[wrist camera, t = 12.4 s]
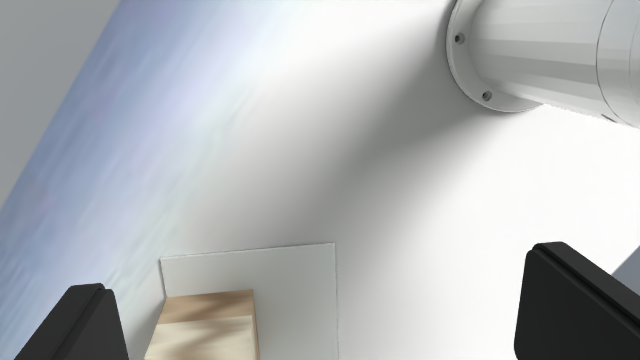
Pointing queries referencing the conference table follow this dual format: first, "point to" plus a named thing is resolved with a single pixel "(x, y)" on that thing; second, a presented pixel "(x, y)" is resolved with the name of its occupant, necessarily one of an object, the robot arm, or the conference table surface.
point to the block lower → (211, 308)
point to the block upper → (204, 340)
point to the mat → (271, 294)
